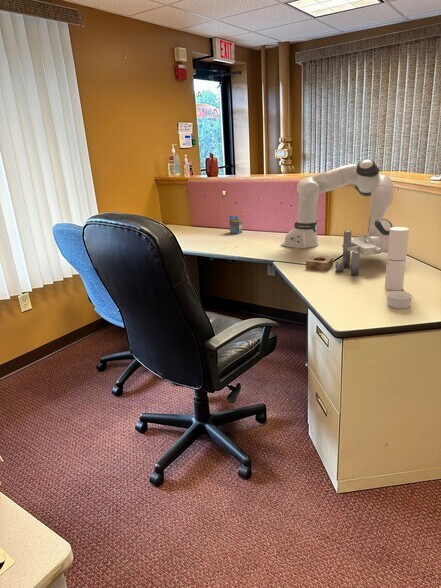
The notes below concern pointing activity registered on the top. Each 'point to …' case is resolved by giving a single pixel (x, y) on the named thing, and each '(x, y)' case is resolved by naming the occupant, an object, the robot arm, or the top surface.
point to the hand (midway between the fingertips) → (345, 247)
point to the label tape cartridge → (235, 225)
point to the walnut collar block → (319, 263)
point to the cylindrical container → (396, 258)
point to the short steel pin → (339, 267)
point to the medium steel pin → (355, 263)
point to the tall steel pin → (345, 252)
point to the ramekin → (399, 299)
